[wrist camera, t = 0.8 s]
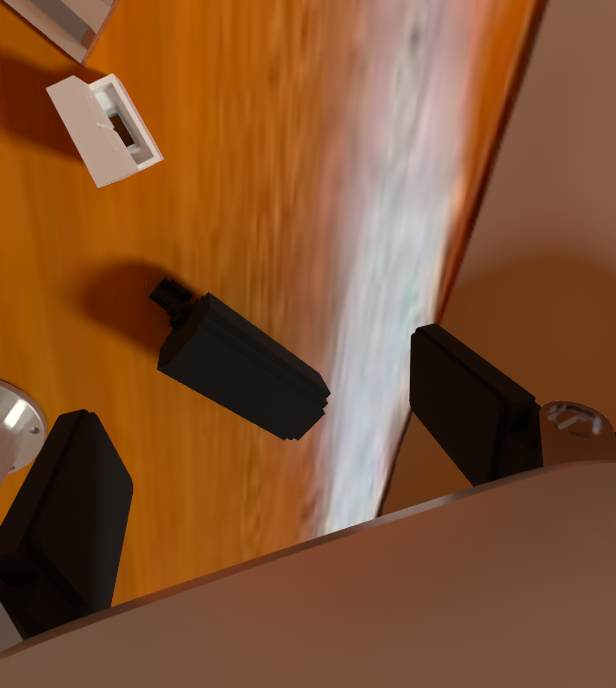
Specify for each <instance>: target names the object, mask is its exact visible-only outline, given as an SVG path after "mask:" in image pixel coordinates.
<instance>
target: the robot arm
mask: <svg viewBox="0 0 616 688" xmlns="http://www.w3.org/2000/svg"><path fill="white" fill-rule="evenodd" d="M409 402H410V406H411V409H412V411H413V412H414V413H415V415H416V416H417V417H418V418H419V420H420V421H421V422H422V423H423V424H424V426H425V427H426V428H427V429H428V431H429V432H430V433H431V434H432V436H433V437H434V438H435V439H436V441H437V442H438V443H439V444H440V446H441V447H442V448H443V449H444V450H445V452H446V453H447V454H448V456H449V457H450V458H451V459H452V460H453V462H454V463H455V464H456V465H457V467H458V468H459V469H460V470H461V472H462V473H463V474H464V475H465V477H466V478H467V479H468V480H469V482H471V484H472V485H473V487H472V488H468V489H465V490H462V491H459V492H456V493H453V494H450V495H447V496H444V497H440V498H438V499H434V500H431V501H429V502H425V503H422V504H419V505H416V506H413V507H410V508H407V509H403V510H400V511H398V512H394V513H391V514H388V515H385V516H382V517H379V518H376V519H373V520H370V521H367V522H364V523H361V524H358V525H354V526H351V527H348V528H345V529H342V530H339V531H336V532H333V533H330V534H327V535H324V536H321V537H318V538H315V539H312V540H309V541H306V542H303V543H300V544H297V545H294V546H291V547H288V548H285V549H282V550H279V551H276V552H273V553H270V554H267V555H264V556H261V557H258V558H255V559H252V560H249V561H246V562H243V563H240V564H237V565H234V566H231V567H228V568H225V569H222V570H219V571H216V572H213V573H210V574H207V575H204V576H201V577H198V578H195V579H192V580H189V581H186V582H183V583H180V584H177V585H174V586H172V587H169V588H166V589H163V590H160V591H157V592H154V593H151V594H148V595H145V596H142V597H139V598H136V599H134V600H131V601H128V602H125V603H122V604H119V605H117V606H114V607H111V602H112V597H113V592H114V587H115V582H116V577H117V572H118V566H119V561H120V556H121V551H122V546H123V541H124V536H125V531H126V526H127V520H128V515H129V510H130V505H131V500H132V495H133V482H132V479H131V477H130V475H129V473H128V471H127V469H126V467H125V466H124V464H123V462H122V460H121V458H120V456H119V455H118V453H117V451H116V449H115V447H114V445H113V444H112V442H111V440H110V438H109V436H108V434H107V433H106V431H105V429H104V427H103V425H102V423H101V421H100V420H99V418H98V416H97V415H96V414H95V413H94V412H92V413H89V412H88V411H87V410H85V409H82V410H77V411H73V412H69V413H65V414H62V415H60V416H59V417H58V418H57V420H56V422H55V424H54V426H53V428H52V430H51V431H50V433H49V435H48V437H47V424H46V419H45V417H44V415H43V413H42V411H41V409H40V408H39V406H38V405H37V404H36V403H35V401H34V400H33V399H31V398H30V397H29V396H28V395H27V394H25V393H24V392H23V391H21V390H19V389H18V388H16V387H14V386H13V385H11V384H8V383H6V382H4V381H1V380H0V486H1V485H2V483H3V481H4V479H5V478H6V476H7V475H8V474H11V473H14V472H16V471H18V470H20V469H22V468H24V467H25V466H26V465H28V464H29V463H30V462H32V461H33V460H34V458H35V457H36V456H37V455H38V456H37V458H36V460H35V462H34V464H33V466H32V467H31V469H30V471H29V473H28V475H27V477H26V479H25V481H24V483H23V485H22V486H21V488H20V490H19V492H18V494H17V496H16V498H15V500H14V502H13V503H12V505H11V507H10V509H9V511H8V513H7V515H6V517H5V519H4V520H3V522H2V524H1V526H0V688H616V432H615V431H614V428H613V426H612V424H611V423H610V421H609V419H607V418H606V417H605V416H604V415H603V414H602V413H600V412H599V411H597V410H595V409H594V408H591V407H589V406H586V405H584V404H581V403H577V402H572V401H562V400H560V401H551V402H549V403H546V404H544V405H543V406H542V407H541V406H540V405H538V404H537V403H536V402H535V397H534V396H533V395H532V394H530V393H529V392H528V391H526V390H525V389H524V388H522V387H521V386H520V385H518V384H517V383H516V382H514V381H513V380H512V379H510V378H509V377H508V376H506V375H505V374H503V373H502V372H501V371H500V370H498V369H497V368H495V367H494V366H493V365H491V364H490V363H489V362H487V361H486V360H485V359H483V358H482V357H481V356H479V355H478V354H477V353H475V352H474V351H473V350H471V349H470V348H468V347H467V346H466V345H465V344H463V343H462V342H460V341H459V340H458V339H456V338H455V337H454V336H452V335H451V334H450V333H448V332H447V331H446V330H444V329H443V328H442V327H440V326H439V325H438V324H430V325H426V326H422V327H418V328H417V329H416V331H415V333H413V334H412V335H411V352H410V394H409ZM46 437H47V439H46ZM45 440H46V441H45ZM44 442H45V443H44ZM110 607H111V608H110Z"/></svg>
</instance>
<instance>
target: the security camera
mask: <svg viewBox="0 0 616 688" xmlns="http://www.w3.org/2000/svg"><path fill="white" fill-rule="evenodd" d="M149 298H150V299H151V300H153V301H155V302H156V303H158V304H159V306H161V307H162V308H164V309H165V310H167V314H168V315H169V316H171V317H170V320H169V326H171V327H173V328H172V332H171V334H170V335H169V336H168V337H167V338H166V342H165V344H164V345H163V346H162V347H161V349H160V355H159V361H158V367H157V370H159V371H161V372H162V373H164V374H166V375H168V376H169V377H171V378H173V379H175V380H177V381H178V382H180V383H182V384H184V385H186V386H187V387H189V388H191V389H193V390H195V391H196V392H198V393H200V394H202V395H204V396H205V397H207V398H209V399H211V400H213V401H214V402H216V403H218V404H220V405H222V406H223V407H225V408H227V409H229V410H231V411H232V412H234V413H236V414H238V415H240V416H241V417H243V418H245V419H247V420H249V421H250V422H252V423H254V424H256V425H257V426H259V427H261V428H263V429H265V430H266V431H268V432H270V433H272V434H274V435H275V436H277V437H279V438H281V439H283V440H284V441H285V439H286V438H288V439H289V440H292V439H293V438H295V439H296V440H299V439H300V438H301V437H302V436H303V435H304V434H305V433H306V432H307V431H308V430H309V429H310V428H311V427H312V426H313V425H314V424H315V423H316V422H317V421H318V420H319V419H320V418H321V417H322V416H323V415H324V414H325V412H324V410H323V408H324V407H325V406H326V405H327V404H328V402H327V401H326V398H327V397H328V396H329V395H330V394H331V393H330V391H329V389H328V387H327V386H326V384H325V382H324V380H323V379H322V377H321V375H320V373H318V372H317V371H316V370H314V369H313V368H311V367H310V366H309V365H307V364H306V363H305V362H303V361H302V360H301V359H299V358H298V357H296V356H295V355H294V354H292V353H291V352H290V351H288V350H287V349H286V348H284V347H283V346H281V345H280V344H279V343H277V342H276V341H275V340H273V339H272V338H271V337H269V336H268V335H266V334H265V333H264V332H262V331H261V330H260V329H258V328H257V327H256V326H254V325H253V324H251V323H250V322H249V321H247V320H246V319H245V318H243V317H242V316H241V315H239V314H238V313H237V312H235V311H234V310H232V309H231V308H230V307H228V306H227V305H226V304H224V303H223V302H222V301H220V300H219V299H217V298H216V297H215V296H213V295H212V294H211V293H209V292H208V293H207V294H206V295H205V297H204V296H202V297H201V298H200V299H199V300H198V299H197V300H196V301H195V302H194V303H193V305H192V304H190V303H189V302H188V301H189V300H190V299H191V298H192V293H190V292H189V291H188V290H186V289H185V288H183V287H182V286H181V285H179V284H178V283H176V282H175V281H173V280H172V281H170V280H168V279H167V278H165V277H164V279H163V280H162V281H161V282H160V283H159V285H158V286H157V287H156V288H155V290H154V291H153V292H152V293H151V294H150V297H149Z"/></svg>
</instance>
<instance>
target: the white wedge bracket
mask: <svg viewBox="0 0 616 688" xmlns="http://www.w3.org/2000/svg"><path fill="white" fill-rule="evenodd" d="M46 90H47V92H48V94H49V96H50V97H51V99H52V101H53V103H54V105H55V107H56V109H57V111H58V113H59V115H60V117H61V119H62V120H63V122H64V124H65V126H66V128H67V130H68V132H69V134H70V136H71V138H72V140H73V141H74V143H75V145H76V147H77V149H78V151H79V153H80V155H81V157H82V159H83V161H84V162H85V164H86V166H87V168H88V170H89V172H90V174H91V176H92V178H93V180H94V182H95V183H96V185H97V187H98V188H100V187H102V186H105V185H108V184H111V183H113V182H116V181H119V180H121V179H124V178H126V177H129V176H131V175H133V174H135V173H137V172H139V171H141V170H143V169H145V168H147V167H149V166H151V165H153V164H155V163H157V162H159V161H162V160H164V158H163V156H162V154H161V152H160V151H159V149H158V147H157V145H156V143H155V142H154V140H153V138H152V136H151V134H150V133H149V131H148V129H147V127H146V126H145V124H144V122H143V120H142V118H141V117H140V115H139V113H138V111H137V110H136V108H135V106H134V104H133V102H132V101H131V99H130V97H129V95H128V93H127V92H126V90H125V88H124V86H123V85H122V83H121V81H120V80H119V79H118V78H117V77H116V76H115V75H114V74H113V73H112V74H110V75H108V76H106V77H104V78H102V79H100V80H97V81H95V82H93V83H91V84H89V85H88V84H86V83H85V82H83V81H82V80H80V79H79V78H77V77H76V76H74V75H73V76H71V77H69V78H66V79H64V80H62V81H60V82H58V83H56V84H54V85H52V86H49V87H47V88H46ZM117 114H118V115H119V117H120V118H121V120H122V122H123V123H124V125H125V127H126V128H127V130H128V132H129V134H130V135H131V137H132V139H133V140H134V142H135V143H134V144H132V145H130V146H128V147H126V146H125V145H124V143H123V141H122V140H121V138H120V136H119V135H118V133H117V132H115V131H114V130H113V128H114V126H113V125H112V123H111V121H110V120H109V118H111V117H113V116H115V115H117Z"/></svg>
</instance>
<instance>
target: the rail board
mask: <svg viewBox="0 0 616 688" xmlns="http://www.w3.org/2000/svg"><path fill="white" fill-rule="evenodd" d="M4 1H5V2H6V3H8V4H9V5H10V6H11V7H12V8H14V9H15V10H16V11H17V12H18V13H20V14H21V15H22V16H23V17H24V18H26V19H27V20H28V21H29V22H31V23H32V24H33V25H34V26H35V27H37V28H38V29H39V30H40V31H41V32H43V33H44V34H45V35H46V36H47V37H49V38H50V39H51V40H52V41H53V42H55V43H56V44H57V45H58V46H59V47H61V48H62V49H63V50H64V51H66V52H67V53H68V54H69V55H70V56H72V57H73V58H74V59H75V60H76V61H78V62H79V63H80V64H81V65H83V66H84V65H85V63H86V62H87V60H88V58H89V56H90V54H91V53H92V51H93V49H94V47H95V45H96V44H97V42H98V40H99V38H100V37H101V35H102V33H103V31H104V29H105V28H106V26H107V24H108V22H109V20H110V19H111V17H112V15H113V13H114V11H115V10H116V8H117V6H118V4H119V2H120V1H121V0H4Z"/></svg>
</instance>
